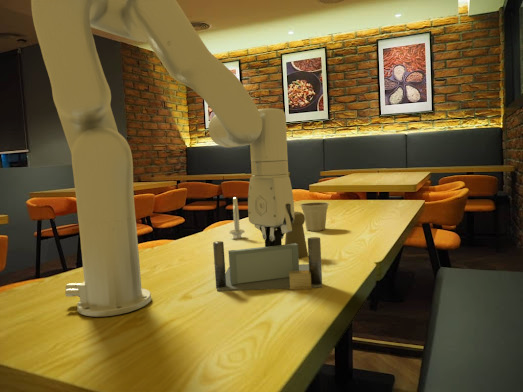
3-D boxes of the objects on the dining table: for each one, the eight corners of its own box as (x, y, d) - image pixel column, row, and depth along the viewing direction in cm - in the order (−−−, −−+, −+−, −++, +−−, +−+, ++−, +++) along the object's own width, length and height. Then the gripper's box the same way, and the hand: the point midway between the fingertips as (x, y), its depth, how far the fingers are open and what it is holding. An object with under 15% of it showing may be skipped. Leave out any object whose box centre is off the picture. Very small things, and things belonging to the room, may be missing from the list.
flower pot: (297, 229, 143) (295, 203, 142) (322, 226, 146) (321, 201, 145) (308, 233, 134) (307, 206, 133) (335, 230, 137) (333, 203, 136)
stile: (290, 289, 79) (287, 242, 78) (290, 283, 83) (287, 238, 82) (323, 288, 79) (321, 241, 78) (321, 282, 83) (319, 236, 82)
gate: (231, 284, 83) (229, 252, 82) (230, 282, 84) (228, 250, 83) (299, 276, 86) (297, 244, 85) (297, 274, 87) (295, 243, 87)
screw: (245, 236, 135) (244, 239, 130) (230, 237, 135) (229, 240, 130) (243, 195, 134) (242, 197, 129) (227, 196, 134) (226, 198, 129)
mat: (217, 290, 81) (216, 289, 81) (228, 268, 97) (228, 267, 97) (321, 287, 80) (321, 285, 80) (316, 265, 96) (316, 263, 95)
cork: (306, 258, 102) (304, 213, 101) (282, 258, 103) (279, 214, 102) (309, 252, 108) (307, 210, 107) (285, 252, 109) (283, 210, 108)
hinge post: (215, 289, 82) (212, 243, 81) (217, 286, 84) (214, 241, 83) (225, 288, 82) (222, 243, 81) (227, 285, 84) (224, 241, 83)
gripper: (233, 171, 90) (238, 256, 92) (280, 171, 78) (284, 268, 80) (261, 169, 95) (265, 250, 96) (308, 168, 83) (312, 260, 85)
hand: (274, 258), depth 88 cm, fingers closed
